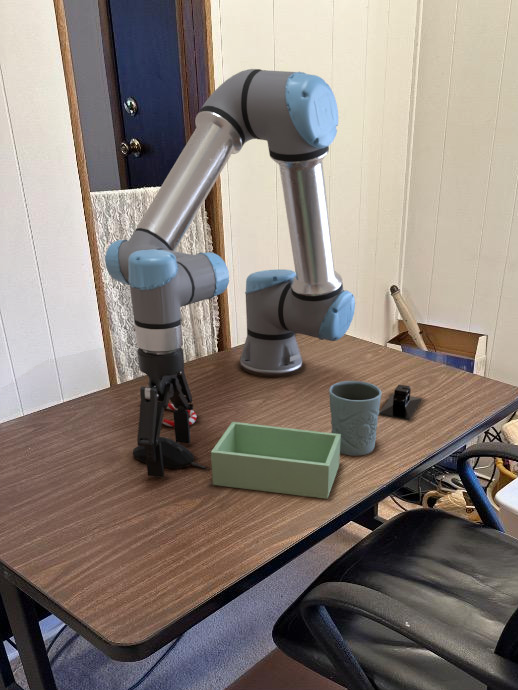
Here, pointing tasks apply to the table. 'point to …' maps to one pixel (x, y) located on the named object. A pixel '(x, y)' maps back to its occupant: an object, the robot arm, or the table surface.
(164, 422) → the candy cane
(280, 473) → the open rectangular box
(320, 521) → the table surface
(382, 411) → the black bracket mount
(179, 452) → the gaming mouse
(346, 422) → the blue-grey embossed cup
